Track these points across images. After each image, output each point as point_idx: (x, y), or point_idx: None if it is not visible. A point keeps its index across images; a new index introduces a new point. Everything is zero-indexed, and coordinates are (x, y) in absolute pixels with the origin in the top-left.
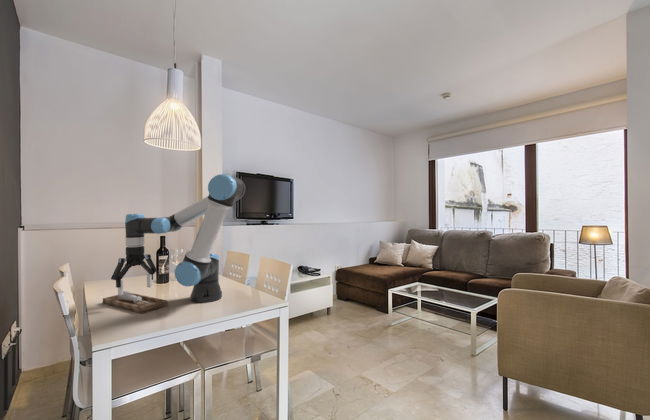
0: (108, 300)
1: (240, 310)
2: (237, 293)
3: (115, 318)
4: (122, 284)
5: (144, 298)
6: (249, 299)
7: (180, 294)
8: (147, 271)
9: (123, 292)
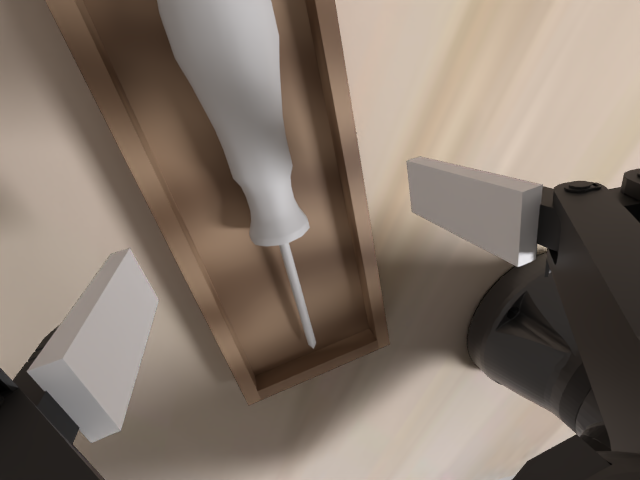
0: (49, 3)
1: (474, 477)
2: None
3: None
4: (127, 379)
5: (339, 163)
6: None
7: (525, 160)
8: (563, 223)
9: (204, 29)
